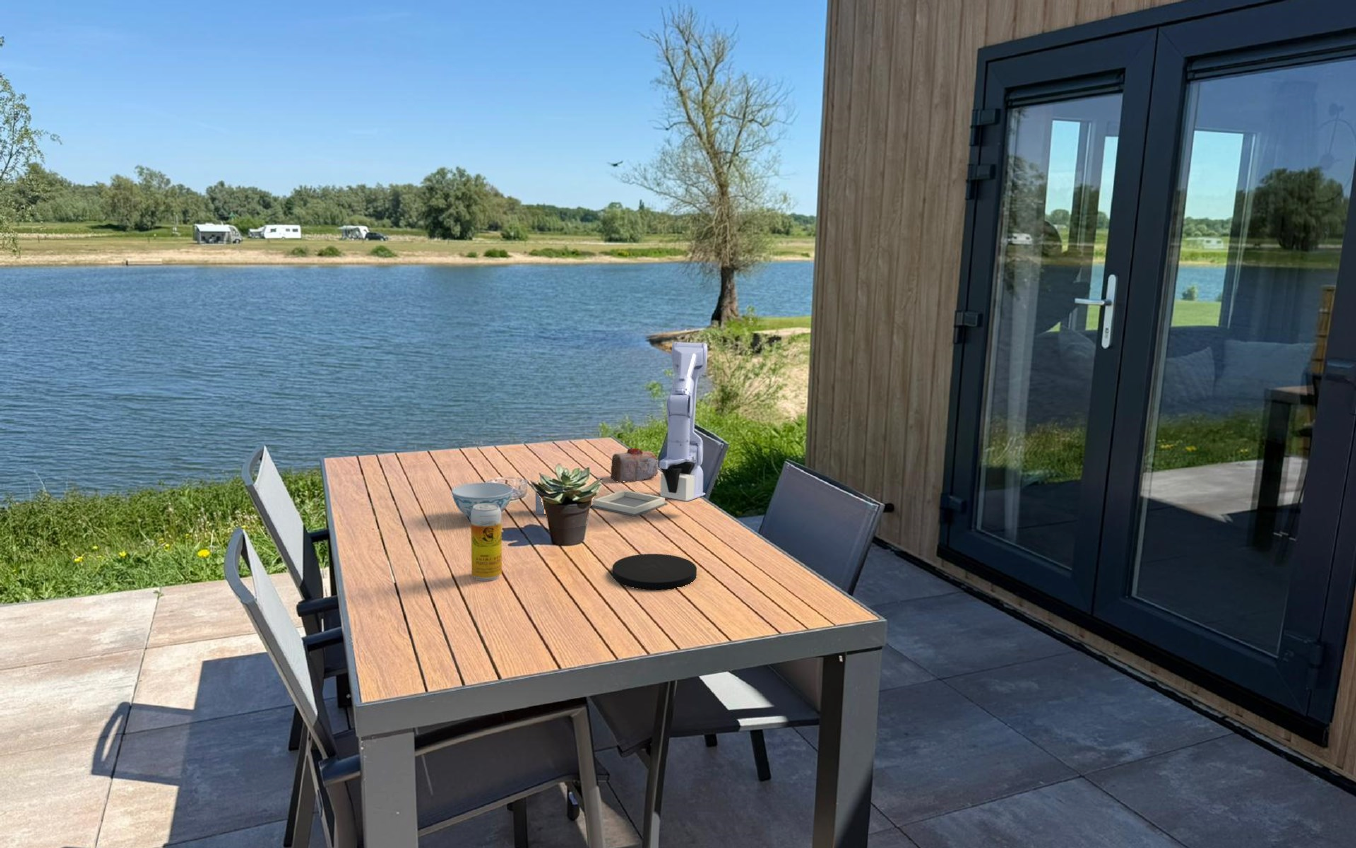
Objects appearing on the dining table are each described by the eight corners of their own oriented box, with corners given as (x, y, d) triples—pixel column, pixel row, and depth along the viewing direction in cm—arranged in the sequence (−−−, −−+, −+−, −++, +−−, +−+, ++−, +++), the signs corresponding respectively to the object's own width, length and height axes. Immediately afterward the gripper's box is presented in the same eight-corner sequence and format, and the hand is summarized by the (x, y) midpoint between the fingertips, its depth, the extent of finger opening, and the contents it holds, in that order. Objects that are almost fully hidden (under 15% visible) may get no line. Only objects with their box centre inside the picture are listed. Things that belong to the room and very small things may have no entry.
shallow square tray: (623, 495, 245) (623, 489, 245) (667, 504, 237) (667, 497, 237) (590, 506, 233) (590, 500, 232) (635, 516, 224) (635, 509, 224)
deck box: (668, 492, 231) (669, 471, 230) (693, 497, 227) (694, 475, 226) (660, 495, 228) (660, 473, 227) (685, 501, 224) (686, 478, 223)
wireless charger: (679, 597, 170) (679, 587, 170) (598, 584, 177) (598, 574, 176) (707, 569, 187) (707, 560, 187) (632, 558, 193) (632, 549, 193)
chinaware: (439, 522, 214) (439, 492, 213) (475, 508, 228) (475, 480, 227) (490, 530, 209) (490, 500, 208) (524, 515, 223) (523, 486, 221)
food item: (646, 474, 272) (647, 444, 270) (659, 479, 265) (660, 448, 264) (608, 479, 265) (609, 447, 263) (621, 484, 258) (621, 452, 256)
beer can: (476, 583, 174) (475, 511, 171) (468, 573, 179) (467, 504, 177) (505, 579, 177) (504, 508, 174) (497, 570, 182) (496, 501, 179)
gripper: (676, 446, 217) (674, 498, 219) (706, 438, 229) (704, 487, 231) (653, 442, 220) (652, 494, 223) (683, 434, 232) (682, 483, 235)
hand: (677, 490), depth 227 cm, fingers closed on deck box, 4 cm apart
